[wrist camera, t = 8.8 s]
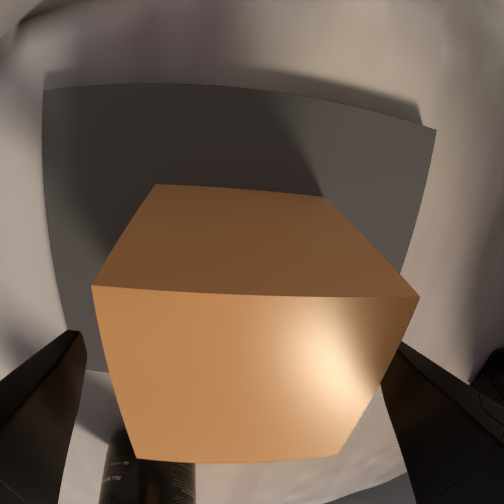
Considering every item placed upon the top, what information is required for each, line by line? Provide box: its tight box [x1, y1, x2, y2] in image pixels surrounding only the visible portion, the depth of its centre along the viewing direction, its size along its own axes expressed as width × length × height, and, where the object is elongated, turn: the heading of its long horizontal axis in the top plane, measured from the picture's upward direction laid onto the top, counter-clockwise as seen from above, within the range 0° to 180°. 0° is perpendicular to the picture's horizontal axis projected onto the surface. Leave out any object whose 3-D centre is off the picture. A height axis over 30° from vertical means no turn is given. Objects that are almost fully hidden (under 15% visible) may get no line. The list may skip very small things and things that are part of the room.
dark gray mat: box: [42, 84, 437, 373], centre depth 14 cm, size 16×14×1 cm
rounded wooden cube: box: [91, 184, 420, 464], centre depth 10 cm, size 6×6×7 cm
